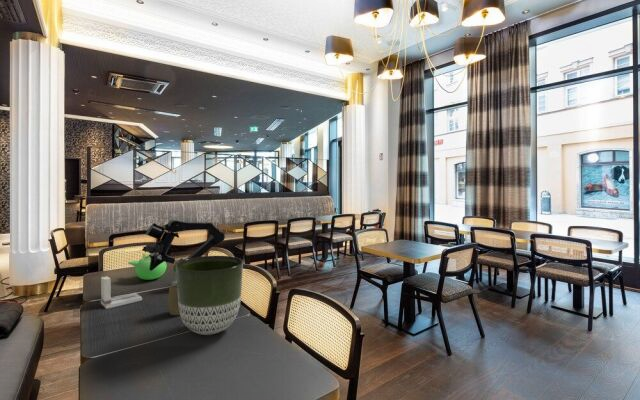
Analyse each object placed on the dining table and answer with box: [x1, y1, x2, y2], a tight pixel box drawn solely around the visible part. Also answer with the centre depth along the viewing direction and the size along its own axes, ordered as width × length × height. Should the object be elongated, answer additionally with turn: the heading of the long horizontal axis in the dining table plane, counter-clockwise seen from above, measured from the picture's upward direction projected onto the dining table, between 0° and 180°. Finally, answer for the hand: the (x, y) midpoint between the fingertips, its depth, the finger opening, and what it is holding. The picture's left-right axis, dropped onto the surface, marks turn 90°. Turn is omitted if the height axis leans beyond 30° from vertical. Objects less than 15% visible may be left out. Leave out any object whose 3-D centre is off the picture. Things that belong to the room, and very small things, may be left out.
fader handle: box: [100, 275, 112, 304], centre depth 149 cm, size 3×6×11 cm, turn 47°
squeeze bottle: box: [167, 274, 180, 316], centre depth 142 cm, size 8×8×18 cm
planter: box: [175, 255, 244, 336], centre depth 125 cm, size 24×24×27 cm
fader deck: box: [100, 292, 143, 310], centre depth 154 cm, size 15×9×2 cm, turn 138°
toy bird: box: [127, 252, 168, 281], centre depth 191 cm, size 18×17×15 cm
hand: (150, 270), depth 165 cm, fingers closed
